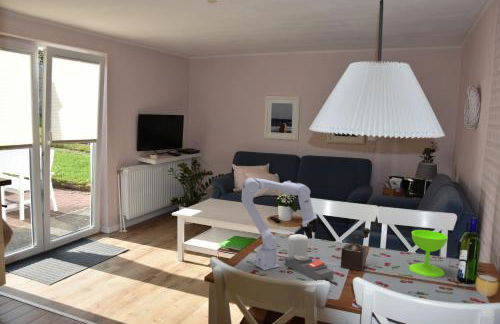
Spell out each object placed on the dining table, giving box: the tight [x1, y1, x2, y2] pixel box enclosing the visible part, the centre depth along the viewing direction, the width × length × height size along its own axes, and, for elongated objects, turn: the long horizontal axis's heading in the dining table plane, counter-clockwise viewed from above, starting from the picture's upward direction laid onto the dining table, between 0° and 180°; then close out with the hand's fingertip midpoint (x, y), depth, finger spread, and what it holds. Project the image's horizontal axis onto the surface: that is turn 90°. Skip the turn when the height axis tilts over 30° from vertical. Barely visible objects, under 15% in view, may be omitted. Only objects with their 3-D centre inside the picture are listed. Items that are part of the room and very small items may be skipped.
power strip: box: [284, 255, 339, 286], centre depth 186 cm, size 8×30×4 cm, turn 35°
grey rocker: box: [294, 255, 310, 261], centre depth 192 cm, size 6×4×1 cm, turn 125°
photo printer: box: [286, 233, 309, 258], centre depth 207 cm, size 10×4×12 cm, turn 98°
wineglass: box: [408, 229, 448, 278], centre depth 195 cm, size 16×16×18 cm
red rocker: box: [308, 259, 325, 268], centre depth 184 cm, size 6×4×1 cm, turn 125°
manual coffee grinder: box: [340, 227, 371, 272], centre depth 199 cm, size 16×11×18 cm
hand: (312, 235), depth 196 cm, fingers open, 7 cm apart
